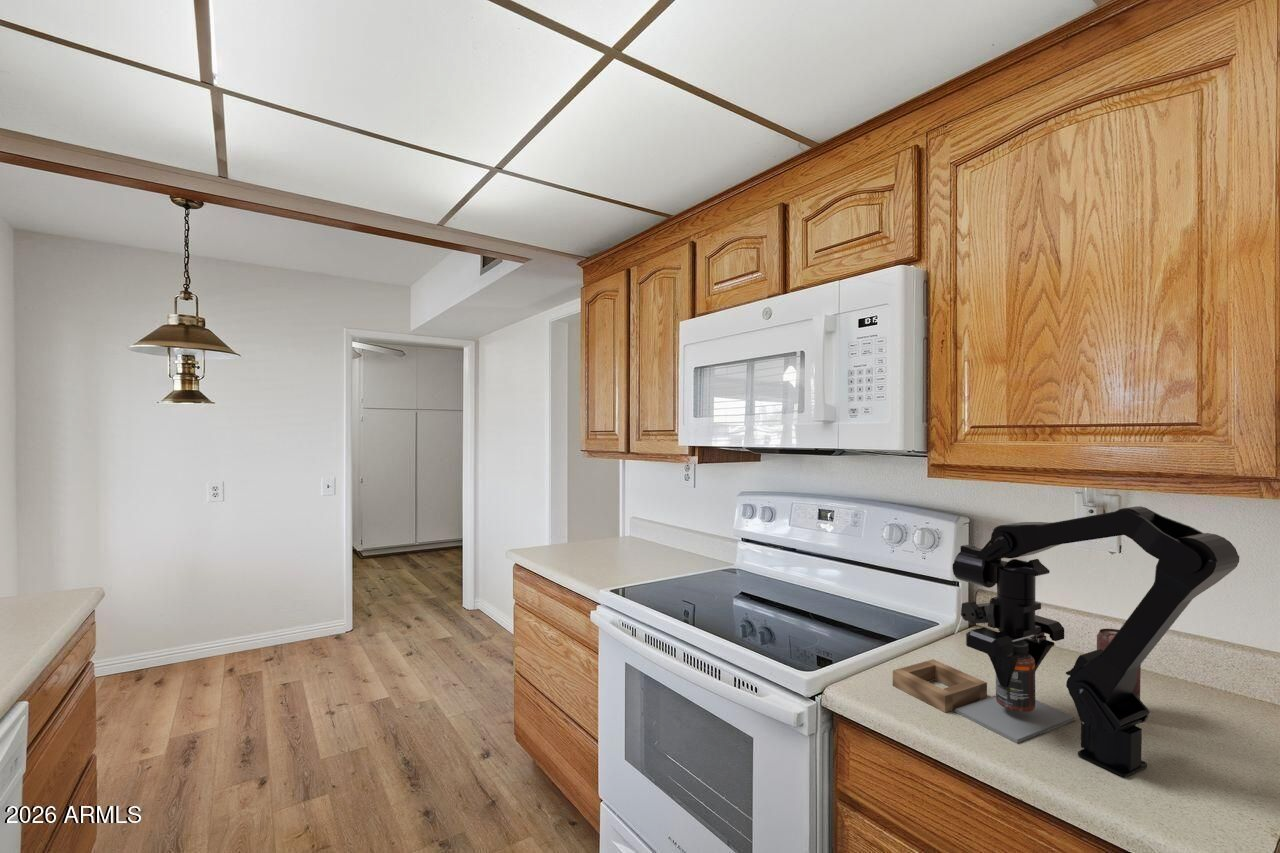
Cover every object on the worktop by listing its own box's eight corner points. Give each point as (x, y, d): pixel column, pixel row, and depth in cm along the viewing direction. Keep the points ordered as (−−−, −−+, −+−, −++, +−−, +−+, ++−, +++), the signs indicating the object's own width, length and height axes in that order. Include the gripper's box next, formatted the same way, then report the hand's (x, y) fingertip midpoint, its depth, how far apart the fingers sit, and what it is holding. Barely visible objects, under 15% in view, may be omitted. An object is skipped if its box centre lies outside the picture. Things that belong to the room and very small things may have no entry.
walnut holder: (986, 698, 111) (987, 682, 111) (944, 712, 106) (945, 695, 106) (933, 673, 122) (933, 659, 122) (892, 685, 117) (892, 670, 117)
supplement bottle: (1023, 697, 107) (1024, 635, 107) (1042, 714, 101) (1043, 648, 101) (988, 696, 108) (989, 634, 108) (1005, 713, 102) (1006, 647, 102)
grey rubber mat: (1075, 720, 103) (1075, 716, 103) (1016, 743, 96) (1016, 739, 96) (1012, 692, 113) (1012, 689, 113) (955, 712, 106) (955, 708, 106)
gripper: (1004, 576, 115) (1004, 656, 116) (938, 589, 107) (938, 675, 108) (1066, 592, 105) (1065, 679, 106) (998, 608, 97) (998, 702, 98)
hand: (1015, 682), depth 105 cm, fingers closed on supplement bottle, 6 cm apart
